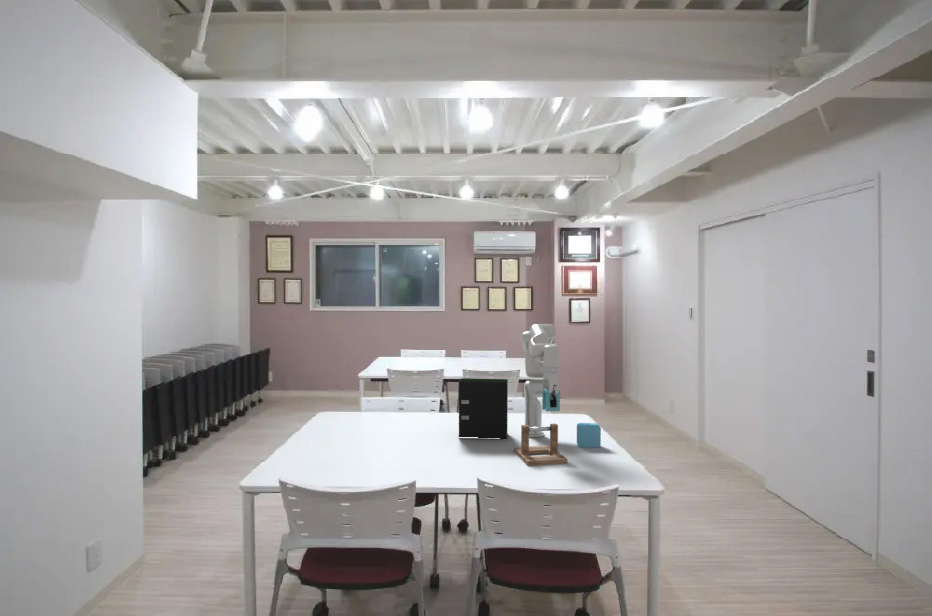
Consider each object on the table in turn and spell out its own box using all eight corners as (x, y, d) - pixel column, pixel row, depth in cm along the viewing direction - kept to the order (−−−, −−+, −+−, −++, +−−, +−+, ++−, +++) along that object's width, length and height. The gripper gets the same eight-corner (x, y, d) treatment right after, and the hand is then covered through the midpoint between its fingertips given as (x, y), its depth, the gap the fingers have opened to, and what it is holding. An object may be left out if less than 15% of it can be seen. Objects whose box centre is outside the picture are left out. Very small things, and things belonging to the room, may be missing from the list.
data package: (599, 445, 289) (599, 423, 288) (600, 447, 284) (600, 425, 284) (576, 444, 289) (576, 422, 289) (577, 447, 285) (578, 424, 285)
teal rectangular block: (542, 409, 270) (542, 388, 270) (555, 408, 271) (555, 388, 271) (546, 411, 264) (546, 390, 264) (559, 410, 266) (559, 390, 265)
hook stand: (513, 451, 277) (513, 420, 277) (550, 449, 281) (550, 418, 280) (527, 465, 254) (527, 431, 253) (567, 463, 257) (567, 430, 257)
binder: (507, 433, 313) (507, 378, 313) (507, 440, 298) (507, 383, 298) (461, 432, 316) (461, 378, 315) (458, 439, 301) (458, 382, 300)
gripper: (538, 367, 275) (537, 402, 275) (550, 372, 258) (550, 409, 259) (551, 367, 277) (551, 402, 277) (564, 372, 260) (564, 409, 260)
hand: (550, 405), depth 268 cm, fingers closed on teal rectangular block, 6 cm apart
